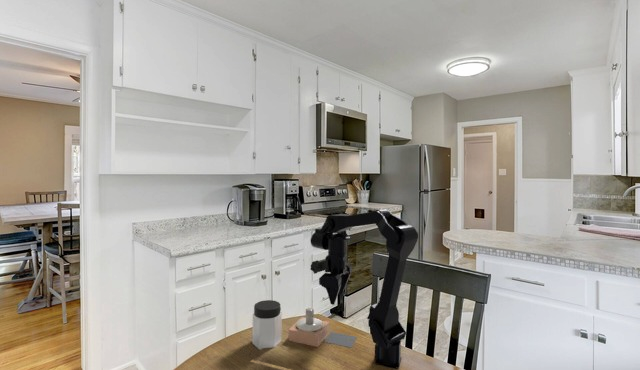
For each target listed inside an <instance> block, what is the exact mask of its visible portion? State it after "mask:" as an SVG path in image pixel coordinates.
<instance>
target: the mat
mask: <svg viewBox="0 0 640 370" xmlns="http://www.w3.org/2000/svg"><path fill="white" fill-rule="evenodd" d="M357 339H358V336H355V335H350V334H345V333H344V334H343V333H340V332H334V331H330V332H329V333H328V335H327V336H326V337H325V339H324V340H323V342H324V343H327V344H328V343H329V344H332V345H337V346H342V347H347V348H353V346H354V344H355V342H356V341H357Z"/></svg>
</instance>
